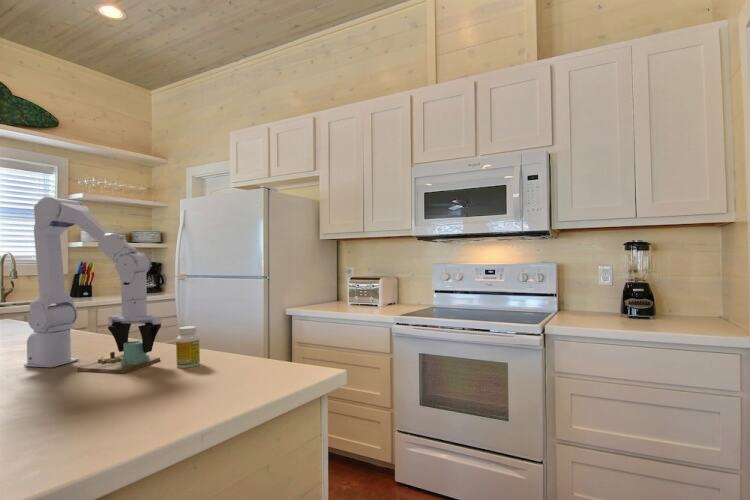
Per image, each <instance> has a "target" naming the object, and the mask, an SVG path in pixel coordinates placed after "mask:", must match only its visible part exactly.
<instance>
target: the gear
mask: <svg viewBox="0 0 750 500" xmlns="http://www.w3.org/2000/svg"><path fill="white" fill-rule="evenodd" d="M123 347H124V351H123V355H124V358H121V365H125V364H134V365H135V364H138V363H142V362H148V361H150V355H149V354H147V353H148V352H147V353H144V352H143V344H142V339H141V340H130V341H129V340H128V342H125V343H124V344H123Z"/></svg>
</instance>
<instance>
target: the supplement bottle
mask: <svg viewBox="0 0 750 500" xmlns="http://www.w3.org/2000/svg"><path fill="white" fill-rule="evenodd" d="M196 333H197V326H195V325H187V326H180V327H179V328H178V334H179V336H177V337H176V339H175V342H176V343H175V345H176V346H175V348H176V349H175V350H176V352H175V353H176V367H177V368H179V369H186V368H193V367H197V366H199V365H200V360H201V358H200V355H201V354H200V353H201V352H200V336H199V335H198V334H196Z"/></svg>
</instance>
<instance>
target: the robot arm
mask: <svg viewBox="0 0 750 500" xmlns="http://www.w3.org/2000/svg"><path fill="white" fill-rule="evenodd" d="M33 212H34V226H33V237H34V238H33V239H34V247H35V248H34V249H35V258H36V260H35V261H36V269H37V270H36V271H37V272H36V273H37V281H38V293H39V295H38V296H37V297H36V298H35V299H34V300H33V301H32V302H30V303H29V312H28V314H27V315H28V316H27V322H28V326H29V327H30V329H32V330H33V332H31V333H30V334H29V336H28V337H27V340H26V363H24V364H23V366H24V367H32V368H33V367H35V368H55V367H58V366H63V365H65V364H70V363H73V362H77V361H79V360H80V358H78V357H72V348H71V347H72V344H71V343H72V339H71V338H72V337H71V329H73V328H74V327H73V325H74V324H75V323H76V321H77V320H78V315H79V314H78V310H77V307H76V306H75V304H74V298H73V297H71V296H70V295H69V294H68V293H67V292H66V289H65V288H66V286H65V277H64V267H63V266H64V265H63V255H62V254H63V253H62V252H63V251H62V243H61V236H62V234H63V233H64V232H65V231H67V230H69V229H71V228H72V227H74V226H78V227H79V228H80V229H82V230H83V231H84V233H86V234H88V235H89V236H91V238H93V239H94V240H95V241H97V242H98V244H97V248H98V249H99V250H100V251H101V252H102V253H103V254H104V255H105V256H106V257H107V258H109V260H111V261H112V262H113V264H114V268H115V270H116V272H117V274H118V275H119V276H118V277H119V281H120V284H121V285H120V286H121V287H120V288H121V314H119V315H118V314H114V315H108V324H109V325H108V326H107V329H108V330H109V332H110V333H111V335H112V337H113V338H114V341H115V343H116V346H117V349H118V352H119V353H123V352H124V347H123V344H124V343H125V342H129V333H130V330H131V329H130V328H131V327H132V326H131V325H132V324H138V325H139V324H142V325H139V326H138V330H139V332H140V335H141V340H142V344H143V352H144V353H150V352H152V350H153V348H154V347H153V346H154V343H155V339H156V337H157V335H158V332H159V331H160V329H161V328H162V316H161V315H153V314H148V299H147V298H148V295H147V294H148V293H147V286H148V285H147V273H149V271H150V269H151V267H152V261H151V259H150V256H148V254H147V253H145V252H142V251H141V252H140V251H138V250H137V248H136V247H135V246H132V245H131V244H130V243H128V242H127V241H126V240H125V239H124V238H125V237H124V236H123V234H120V233H115V232H112V233H111V232H110V231H108V230H107V228H105V227H104V226H103V225H102V223H100V221H98V220H97V218H96V217H95V216H94V215H93V214H92V213H91V212H90V208H89V207H88V206H86V205H85V204H84V203H83V202H81V201H80V200H76V199H75V200H73V199H72V200H71V199H64V198H56V197H53V196H43V197H42V198H40V200H38V202H37V203H35V205H34V206H33ZM53 304H54V305H53Z"/></svg>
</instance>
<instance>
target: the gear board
mask: <svg viewBox="0 0 750 500" xmlns="http://www.w3.org/2000/svg"><path fill="white" fill-rule="evenodd" d="M149 357H150V356H149ZM121 358H124V354H116V352H115V351H110V353H109V356H101V358H97V361H96V362H91V363H87V364H85V365H81V366H77V367H76V372H89V373H106V374H107V373H110V374H111V373H112V374H126V373H130V372H132V371H134V370H137V369H140V368H143V367H145V366H150V365H151V364H154V363H157V362H160V361H161V357H155V356H154V357H153V356H151V357H150V361H148V362H142V363H138V364H135V365H134V364H125V365H121Z"/></svg>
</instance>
